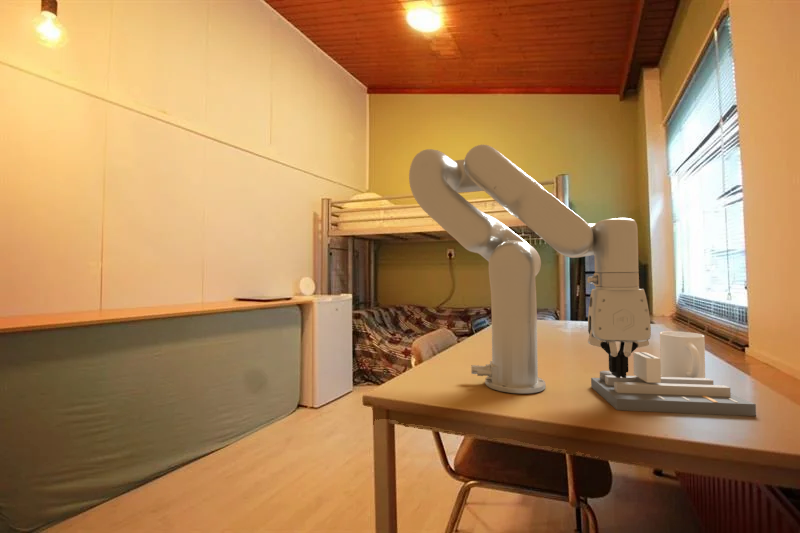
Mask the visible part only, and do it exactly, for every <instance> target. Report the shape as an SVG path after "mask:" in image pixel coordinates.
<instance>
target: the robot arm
mask: <svg viewBox="0 0 800 533" xmlns="http://www.w3.org/2000/svg"><path fill="white" fill-rule="evenodd" d="M408 173H409V174H408V181H409V183H408V184H409V186H410V191H411V194H412V195H413V198H414V200H415V202H416V203H417V205H418V206H419V207H420V208H421V209H422V210H423V211H424V212H425V213H426V214H427V215H428V216H429V217H430V218H431V219H432V220H434V222H436V224H438V225H439V226H440V227H441V228H442V229H443V230H444V231H445V232H447V233H448V234H449V235H450V236H451V237H452V238H453V239H455V240H456V242H458V244H460V245H461V246H462V247H463V248H464V249H465V250H467V251H468V252H470V253H474V254H478V255H479V256H481V257H482V258H484V259H485V260H486V261H487V262H488V277H489V286H490V299H491V300H490V304H491V306H490V308H491V353H492V354H491V359H492V360H489V364H485V365H479V364H478V365H476V364H472V365H471V367H470V368H471V375H476V376H477V377H483V376H485V379H484V383H485V385H486V386H487V387H488V388H490V389H492V390H494V391H495V390H496V391H498V392H503V393H509V394H523V395H524V394H525V395H526V394H536V393H540V392H543V391H544V390H545V389H546V381H545V380H544V379H542V378H540V377H539V374H538V373H539V372H538V371H539V369H538V368H539V367H538V365H539V364H538V361H539V360H538V314H537V311H538V308H537V307H538V306H537V304H538V303H537V288H536V286H537V285H536V277H537V275H538V274H539V273H540V270H541V266H542V260H541V257H540V254H539V252H538V251H537V250H536V248H535V247H534V246H532V245H531V244H529V243H528V242H527V241H526V240H525V239H523V238H522V237H521V236H519V235H518V234H517V233H515V231H513V230H512V229H511V228H509V227H508V226H507V225H505V224H504V222H502V221H501V220H499V219H497V218H496V217H494V216H492V215H490V214H488V213H487V212H486V213H485V212H484V211H482V210H480V209H479V208H477V207H476V206H475V205H473V204H472V203H471V202H469V201H468V200H467V199H466V198H465V197H464V196H463V195H461V194H460V193H471V192H473V193H474V192H481V191H482V192H483V191H484V192H485V193H486V194H487V195H488V196H489V197H491V198H492V199H493V200H494V201H495V202H496V203H498V204H499V205H500V206H501V207H502V208H503V209H505V211H507V212H508V213H509V214H510V215H512V216H513V217H514V218H517V219H518V220H519V221H521V222H522V223H524V225H525V226H527V227H528V228H529V229H530V230H531V231H533V232H534V233H535V234H536V235H537V236H539V238H541V239H542V240H543V241H544V242H545V243H547V244H548V246H550V247H551V248H552V249H554V250H555V251H556V252H557V253H558V254H560V255H562V256H564V257H566V258H572V259H573V258H584V257H589V256H594V273H593V275H592V276H587V280H586V282H587V283H588V284H592V285H593V286H594V288H592V289H591V293H590V297H589V304H588V305H589V306H588V312H587V313H588V314H587V315H588V317H587V331H588V332H587V333H588V338H587V339H588V340H587V343H588V344H589V345H591V346H594V347H598V348H601V349H602V350H604V351H605V353H606V354H608V371H610V372H611V373H612V375H614V376H615V377H617V378H620V377H623V378H626V376H627V373H628V372H629V357H631V355H632V353H633V352H635V351H636V350H637V348H643V347H648V346H649V344H650V343H649V340H650V339H651V336H652V327H651V325H652V324H651V318H650V311H649V310H650V309H649V304H648V299H647V294H646V292H645V289H644V288H640V279H639V278H640V276H639V271H640V270H639V238H638V236H639V233H638V230H639V229H638V224H637V222H636V220H635V219H632V218H628V217H618V218H616V217H615V218H607V219H602V220H598V221H597V222H595V223H588V222H587V221H586V220H584V218H582V217H581V216H580V215H578V214H577V213H576V212H574V211H573V210H572V209H570V207H568V206H567V205H566V204H564V203H563V202H562V201H560V199H559V198H557V197H555V196H554V195H553V194H552V193H550V192H549V191H548V190H546V189H545V188H544V187H543V186H542V185H541V184H540V183H539V182H537V180H535V179H534V178H533V177H531V175H529V174H527V173H526V172H525V171H524V170H523V169H521V168H520V167H519V166H518V165H516V164H515V163H513V161H511V160H510V159H509V158H507V157H506V156H505V155H504V154H502V153H501V152H500V151H499V150H497V149H496V148H494V147H493V146H490V145H487V144H478V145H475V146H473V147H472V148H471V149H469V151H468V152H467V153H466V155H465V157H464V159H458V160H454V159H452V158H451V157H450V156H448V155H447V154H445V153H444V152H442V151H440V150H438V149H434V148H433V149H432V148H431V149H430V148H428V149H423V150H421V151H419V152H418V153H416V155H415V156H414V157H413V159H412V161H411V163H410V167H409V172H408ZM616 342H619V344H618V349H617V343H616Z"/></svg>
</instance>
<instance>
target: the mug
mask: <svg viewBox="0 0 800 533" xmlns="http://www.w3.org/2000/svg"><path fill="white" fill-rule="evenodd" d="M705 347H706V343H705V335H704V334H701V333H697V332H689V331H688V332H687V331H674V330H673V331H670V330H669V331H660V332H659V358H660V360H661V377H684V378H706V353H705V352H706V351H705V350H706V348H705Z"/></svg>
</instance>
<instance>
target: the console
mask: <svg viewBox="0 0 800 533" xmlns="http://www.w3.org/2000/svg"><path fill="white" fill-rule="evenodd" d="M636 377H637V376H636V375H626V378H623V377H620V378H617V377H615V376H614V375H612V373H611V372H610V371H609V370H601V371H599V377H591V378H590V382H591V384H590V388H592V389H593V390H594V391H595V392H596V393H597V394H598V395H599V396H601V398H603V399H604V400H605V401H606V402H607V403H608V404H610V405H611V406H612V407H613V408H614V409H615V410H616V411H628V412H629V411H630V412H631V411H632V412H633V411H634V412H650V413H652V412H653V413H654V412H655V413H656V412H657V413H676V414H677V413H679V414H680V413H681V414H683V413H684V414H699V415H700V414H701V415H721V416H722V415H725V416H747V417H748V416H750V417H756V416H757V405H756V403H754V402H752V401H749V400H747V399H745V398H743V397H741V396H739V395H736V394H734V393H732V392H731V387H729V386H728V385H724V384H721V385H720V384H714V380H713V379H712V378H710V377H705V378H684V377H662V376H661V383H639V382H636Z"/></svg>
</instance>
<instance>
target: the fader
mask: <svg viewBox="0 0 800 533" xmlns="http://www.w3.org/2000/svg"><path fill="white" fill-rule="evenodd" d="M632 353H633V355H632V356H633V376H637V377H636V382H639V383H661V377H662V376H661V360H660V357H658V356H655V355H653V354H651V353H648V352H645V351H633V352H632Z"/></svg>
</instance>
